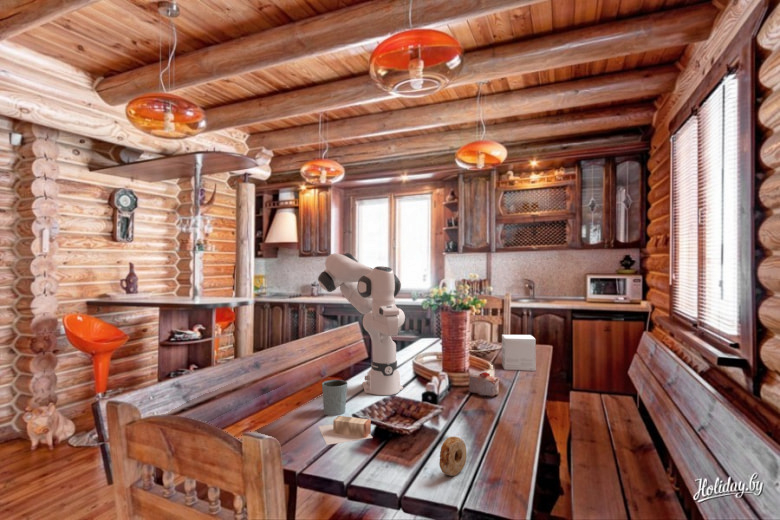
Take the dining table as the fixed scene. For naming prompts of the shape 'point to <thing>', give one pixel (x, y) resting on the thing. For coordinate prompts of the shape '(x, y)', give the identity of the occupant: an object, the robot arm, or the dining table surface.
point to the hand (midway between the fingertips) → (383, 344)
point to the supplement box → (519, 352)
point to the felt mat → (337, 435)
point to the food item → (484, 384)
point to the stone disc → (452, 456)
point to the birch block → (352, 426)
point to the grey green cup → (334, 397)
